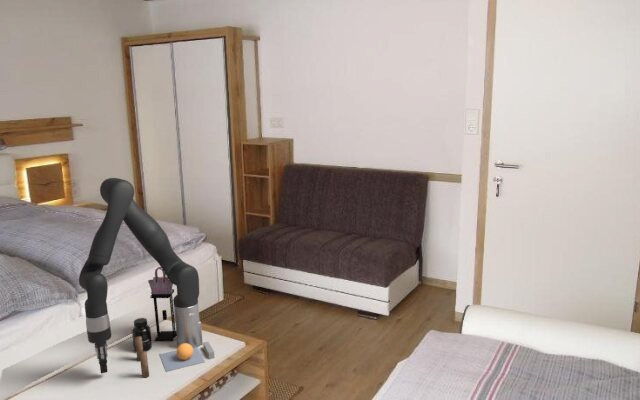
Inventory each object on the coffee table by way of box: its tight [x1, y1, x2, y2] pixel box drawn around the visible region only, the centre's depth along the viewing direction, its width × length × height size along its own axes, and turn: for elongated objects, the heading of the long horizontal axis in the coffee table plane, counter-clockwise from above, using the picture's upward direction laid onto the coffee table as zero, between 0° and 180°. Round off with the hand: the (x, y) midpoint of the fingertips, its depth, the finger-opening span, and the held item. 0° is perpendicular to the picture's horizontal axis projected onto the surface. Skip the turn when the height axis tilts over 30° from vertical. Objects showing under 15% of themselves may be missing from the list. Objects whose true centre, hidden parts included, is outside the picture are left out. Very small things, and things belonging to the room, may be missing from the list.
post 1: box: [135, 336, 143, 363], centre depth 195 cm, size 2×2×9 cm
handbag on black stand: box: [147, 266, 177, 342], centre depth 211 cm, size 10×8×30 cm
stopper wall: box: [202, 341, 215, 360], centre depth 200 cm, size 2×9×2 cm, turn 26°
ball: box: [176, 343, 193, 360], centre depth 195 cm, size 6×6×6 cm
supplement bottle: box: [131, 317, 153, 352], centre depth 203 cm, size 7×7×12 cm
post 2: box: [140, 351, 150, 379], centre depth 184 cm, size 2×2×9 cm
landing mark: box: [159, 347, 206, 373], centre depth 197 cm, size 14×14×1 cm
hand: (104, 371), depth 185 cm, fingers closed
